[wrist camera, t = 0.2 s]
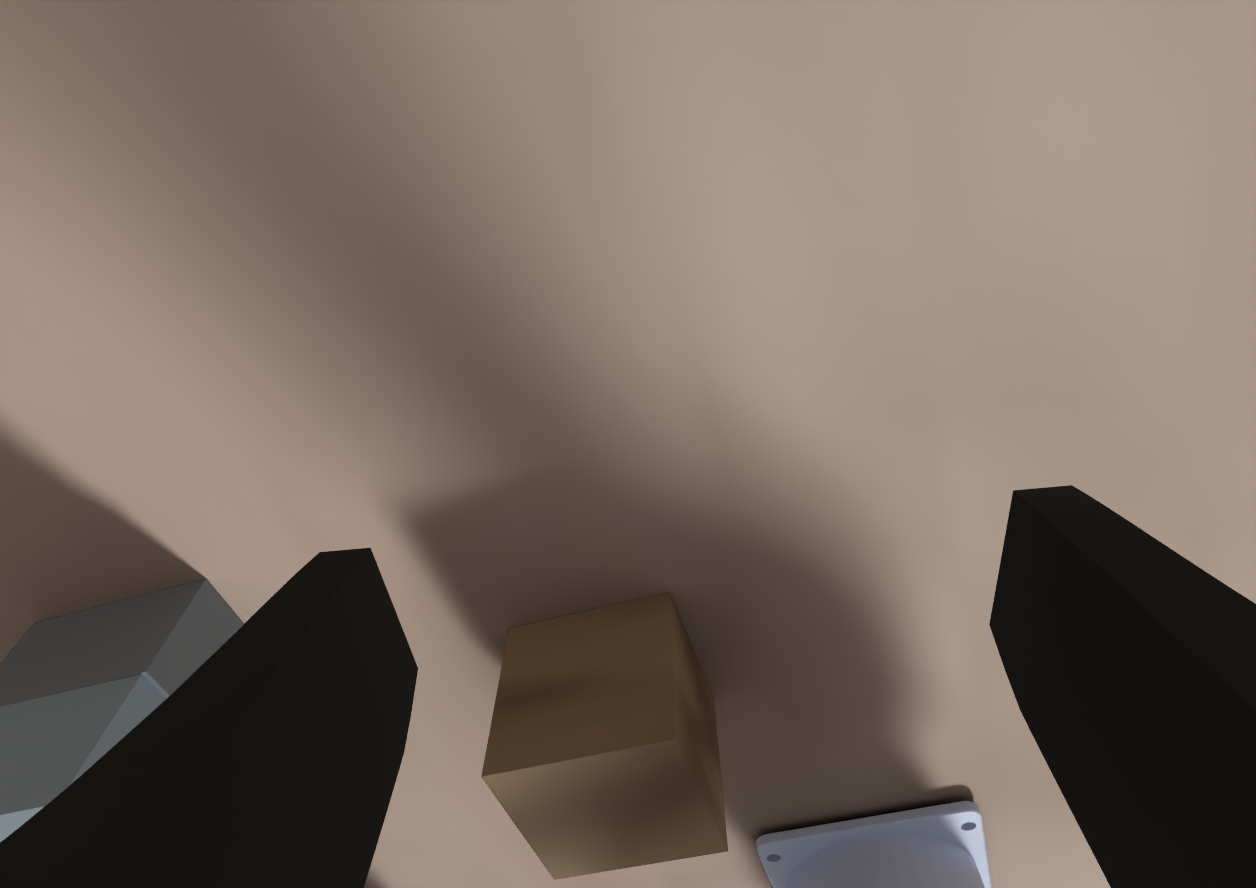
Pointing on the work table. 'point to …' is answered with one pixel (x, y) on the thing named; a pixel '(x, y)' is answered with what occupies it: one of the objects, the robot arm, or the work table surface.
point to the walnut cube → (607, 740)
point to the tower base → (121, 643)
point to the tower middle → (63, 741)
